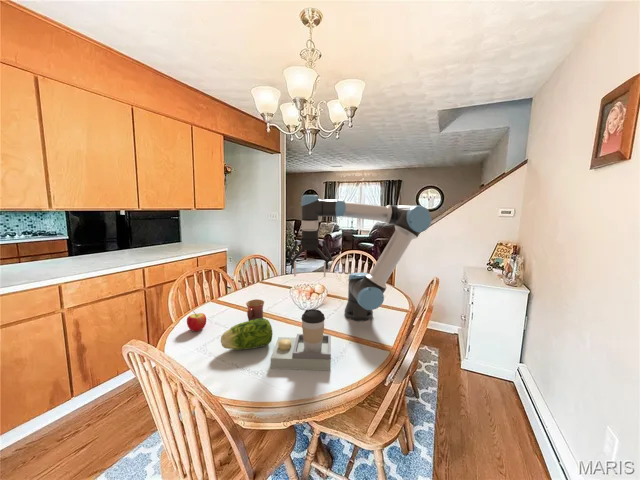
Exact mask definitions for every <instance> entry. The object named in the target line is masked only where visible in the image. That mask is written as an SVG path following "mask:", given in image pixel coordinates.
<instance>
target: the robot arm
mask: <svg viewBox="0 0 640 480" xmlns="http://www.w3.org/2000/svg"><path fill="white" fill-rule="evenodd" d="M300 208H301V240H298V239H296V240H295V239H294V242H293V243H294V244H293V246H292V249H291V251H290V253H289V255H288V257H287V261H288V262H289V261H290V262H291V269H293V276H294V277H296V276H297V259H298V257H299V256H300V255H301V254H302V253H303V252H304V250H305V251H315V252H317V254H319V256H320V257H321V258H322V260H323V277H324V278H326V276H327V275H326V274H327V273H326V270H329V262H332V261H333V257H332V255H331V253H330V251H329V249H328V247H327V246H326V240H324V239H323V240H319V218H320V217H337V218H338V217H344V218H351V219H352V218H353V219H360V220H362V219H363V220H368V221H369V220H370V221H377V222H384V224H387V225H392V226H394V229H395V231H394V233H393V234H392V235H391V237H390V239H389V241H388V243H387V244H386V246H385V247H384V249H383V251H382V253H381V254H380V255H379V257H378V259H377V261H376V263H375V264H374V266H373V268H372V270H371V271H370V273H368V272H352V273H349V275H348V279H347V281H348V287H347V289H348V292H347V293H348V294H347V302H346V305H345V308H344V316H345V317H346V318H347V319H349V320H352V321H355V322H357V321H358V322H365V321H369V320H371V319H372V318H373V316H374V312H373V311H374V310H378V308H380V307H381V306H382V304H383V303H384V300H385V297H384V296H385V295H384V293H385V291H386V290H387V282H388V280H389V278H390V276H392V273H393V272H394V271H395V268H396V267H397V265H398V264H399V262H400V260H401V258H402V257H403V255H404V253H406V250H407V249H408V247H409V245H410V244H411V242H412V241H413V240H416V239H418V237H419V236H420V234H421V233H423V232H426V230H428V229H429V228H430V226H431V225H432V216H431V213H430V211H429V209H427V208H426V207H425V206H423V205H419V204H415V205H413V204H412V205H409V204H403V205H402V204H400V205H399V204H398V205H393V204H388V205H386V206H383V205H375V204H368V203H366V204H365V203H359V202H351V201H345V200H344V199H327V198H325V199H320V197H319V195H317V194H304V195H302V197H301V207H300ZM299 245H301V248H300V249H299V250H298V251H297V253H296V254H295V251H296V249H297V247H298V246H299ZM319 245H320V246H321V247H322V248H323V250H324V252H325V254H326V255H325V254H324V252H322V251H321V249H320V248H319V247H318V246H319ZM294 254H295V255H294ZM293 255H294V256H293Z"/></svg>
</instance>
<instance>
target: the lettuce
mask: <svg viewBox="0 0 640 480" xmlns="http://www.w3.org/2000/svg"><path fill="white" fill-rule="evenodd" d="M273 332H274V331H273V328H272V324H271V323H270V320H269V319H267V318H264V317H263V318H260V319H254V320H251V321H248V320H247V321H243V322H240V323H237V324H234V325H233V326H231V327H230V328H229V329H228V330H225V332H224V333H223V334H222V335H221V336H220V345H221V347H223V348H224V349H228V350H229V349H230V350H237V351H240V350H249V349H255V348H260V347H264V346H268V345H270V343H271V342H272V339H273V334H274V333H273Z"/></svg>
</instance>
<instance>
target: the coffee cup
mask: <svg viewBox="0 0 640 480" xmlns="http://www.w3.org/2000/svg"><path fill="white" fill-rule="evenodd" d="M300 319H301V323H302V324H301V329H302V334H303V340H304V349H305V351H306V352H319V351H321V349H322V340H323V335H324V331H325V320H326V317H325V315H324V313H323V312H322V311H321V310H320V309H315V308H314V309H313V308H311V309H306V310H304V313H303V314H302V315H301V318H300Z"/></svg>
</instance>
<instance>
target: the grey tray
mask: <svg viewBox="0 0 640 480" xmlns="http://www.w3.org/2000/svg"><path fill="white" fill-rule="evenodd" d="M331 354H332V335H331V334H323V340H322V349H321V351H319V352H306V351H305V349H304V340H303V333H297V334H296V337H291V336H289V337H286V336H285V337H284V336H283V337H282V336H279V337H277V339H276V342H275V346H274V348H273V350H272V353H271V357H270V369H280V370H282V369H286V370H287V369H288V370H308V371H309V370H310V371H311V370H314V371H332V370H331V367H332V360H331V359H332V355H331Z"/></svg>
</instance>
